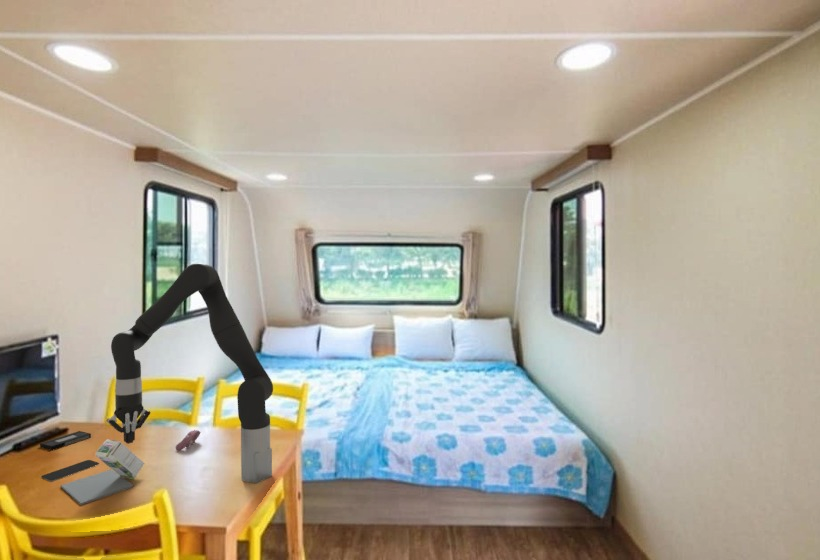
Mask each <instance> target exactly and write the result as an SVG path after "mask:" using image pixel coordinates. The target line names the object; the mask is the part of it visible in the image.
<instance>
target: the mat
mask: <svg viewBox="0 0 820 560" xmlns="http://www.w3.org/2000/svg"><path fill="white" fill-rule="evenodd" d="M133 487H134V484H132V483H131V482H130V481H128V480H127V479H126V478H124V477H121V476H120V475H119V474H117V473H116V472H115V471H113V470H112V469H107V470H104V471H102V472H98V473H95V474H92V475H88V476H85V477H82V478H79V479H76V480H73V481H70V482H67V483H63V484H60V488H61V489H62V490H64V491H65V493H67V494H68V495H69V496H71V498H72V499H73V500H74V501H75V502H77V503H78V504H79V506H83V505H85V504H89V503H92V502H94V501H97V500H99V499H103V498H105V497H108V496H110V495H114V494H117V493H120V492H123V491H126V490H129V489H131V488H133Z"/></svg>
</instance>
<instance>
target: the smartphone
mask: <svg viewBox="0 0 820 560" xmlns="http://www.w3.org/2000/svg"><path fill="white" fill-rule="evenodd" d="M98 464H99V465H100V462H97V461H94V460H91V459H86V460H83V461H79V462H77V463H75V464H71V465H69V466H65V467H63V468H60V469H58V470H54V471H51V472H48V473H45V474H43V475H41V477H40V478H41V479H43V478H44V479H43V480H45V479H46V480H45V481H48V480H49V481H48V482H55V481H54V480H56V481H58V480H60V478H61V479H64V478H67V477H69V476H72V475H75V474H77V473H80V472H82V470H83V471H86V470H88V469H91V468H93V466H94V467H96V466H95V465H97V466H99V465H98ZM90 467H91V468H90ZM85 469H86V470H85ZM79 471H80V472H79ZM74 473H75V474H74ZM71 474H72V475H71ZM68 475H69V476H68ZM66 476H67V477H66ZM63 477H64V478H63ZM57 479H58V480H57Z"/></svg>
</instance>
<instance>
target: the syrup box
mask: <svg viewBox="0 0 820 560" xmlns="http://www.w3.org/2000/svg"><path fill="white" fill-rule="evenodd" d="M94 457H96V458H98V459H99V460H100V461H101V462H102V463H104V464H105V465H106V466H107V467H108V468H110V470H112V471H114V472H115V473H117V474H118V475H120V476H121V477H122V478H124V479H130V480H134V479H136V478H137V475H138V474H139V473H140V471H141V470H142V468H143V466H144V465H145V462H144V461H143V460H142V459H140V457H138V456H137V455H136V454H135V453H133V451H132V450H131V449H129V448H128V447H127V446H126V445H124V443H122V441H120V440H115V439H109V438H107V439H106V440H105V441H104V442H103V443H102V444H101V445H100V447H98V449H97V450H96V452H95V453H94Z"/></svg>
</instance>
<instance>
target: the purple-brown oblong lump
mask: <svg viewBox="0 0 820 560" xmlns="http://www.w3.org/2000/svg"><path fill="white" fill-rule="evenodd" d="M200 435H201V431H199V430H198V429H197V430H196V429H194V430H190V431H188V433H187V435H185V437H184V438H182V440H181V441H180V442H178V443H177V444H176V446H175V450H176V451H182V450H183V449H185V448H186V449H189V448H190V446H191V445H194V443H196V441H197V439H198V438H199V437H200ZM188 447H189V448H188Z"/></svg>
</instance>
